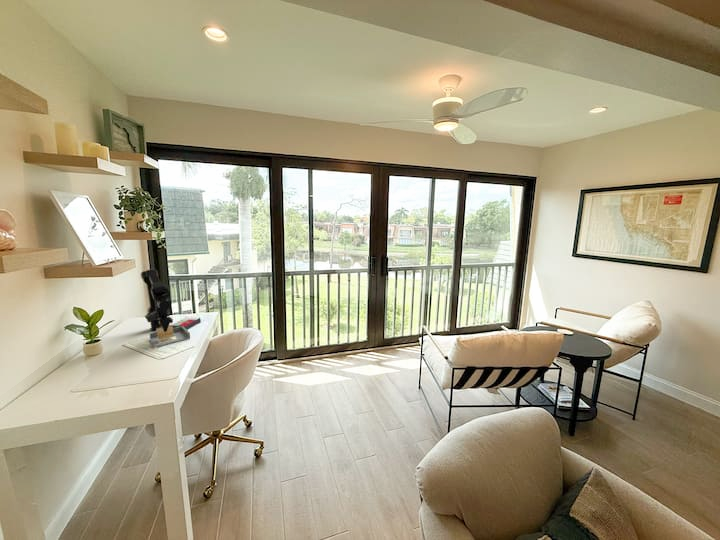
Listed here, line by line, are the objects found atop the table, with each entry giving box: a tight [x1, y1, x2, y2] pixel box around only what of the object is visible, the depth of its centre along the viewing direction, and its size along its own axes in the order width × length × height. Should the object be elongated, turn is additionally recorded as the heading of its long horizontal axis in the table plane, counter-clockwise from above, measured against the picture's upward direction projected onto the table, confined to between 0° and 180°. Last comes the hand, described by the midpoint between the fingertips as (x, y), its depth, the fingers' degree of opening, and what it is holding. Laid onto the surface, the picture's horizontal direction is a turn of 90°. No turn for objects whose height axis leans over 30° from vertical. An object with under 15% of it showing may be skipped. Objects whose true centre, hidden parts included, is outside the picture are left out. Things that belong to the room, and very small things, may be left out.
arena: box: [149, 326, 191, 348], centre depth 176 cm, size 16×18×4 cm
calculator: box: [171, 316, 202, 330], centre depth 198 cm, size 11×4×15 cm
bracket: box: [156, 324, 175, 340], centre depth 173 cm, size 8×5×6 cm, turn 133°
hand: (165, 331), depth 174 cm, fingers closed on bracket
